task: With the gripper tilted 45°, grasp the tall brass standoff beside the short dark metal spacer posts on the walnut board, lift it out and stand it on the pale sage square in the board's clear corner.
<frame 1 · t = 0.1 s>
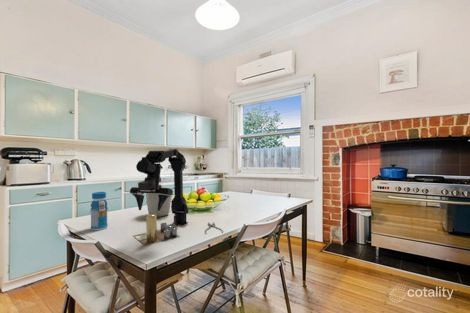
hand: (149, 210, 105), 15 cm above the table, tool pointing down, fingers open, 9 cm apart
beverage bottle: (99, 228, 130), on the table
canister: (159, 215, 159), on the table
pliers: (210, 229, 129), on the table
spacer posts: (156, 238, 113), resting on walnut board
walnut board: (156, 238, 113), on the table
brass standoff: (151, 241, 107), point 1 cm above the table, touching walnut board
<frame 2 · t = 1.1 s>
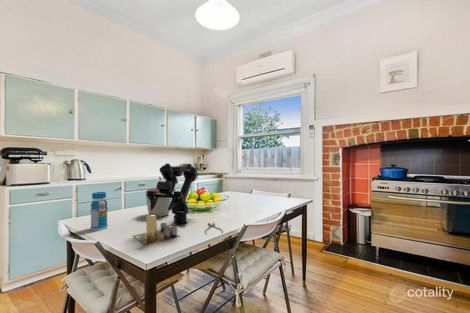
hand: (159, 210, 114), 13 cm above the table, tool tilted 45°, fingers open, 9 cm apart
nothing on the table moved.
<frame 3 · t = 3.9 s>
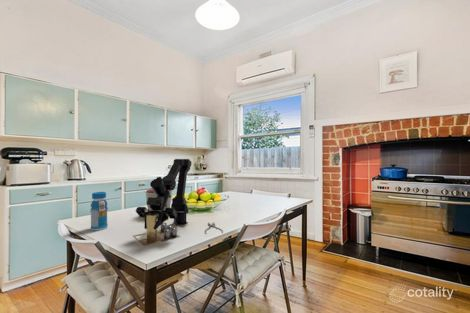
hand: (150, 229, 105), 7 cm above the table, tool tilted 45°, fingers closed on brass standoff, 4 cm apart
brass standoff: (151, 241, 107), point 1 cm above the table, touching gripper, walnut board
everything else where it was.
when the fingers open (8 cm above the table, at t = 7.7 s): brass standoff drops 1 cm, resting on walnut board.
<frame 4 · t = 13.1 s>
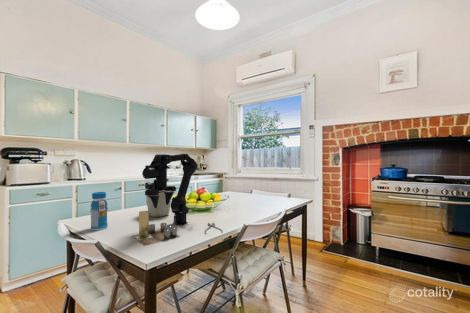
hand: (161, 206, 126), 13 cm above the table, tool pointing down, fingers open, 9 cm apart
brass standoff: (144, 236, 112), point 1 cm above the table, touching walnut board
everything else where it was.
at the end: brass standoff 0.1 cm from the target spot, point 1.3 cm above the table; brass standoff tilted 1°; the gripper is holding nothing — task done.
